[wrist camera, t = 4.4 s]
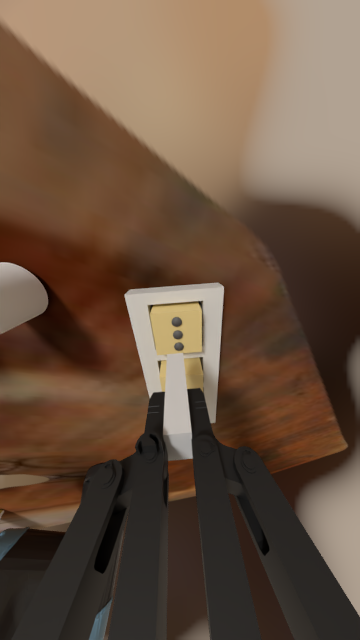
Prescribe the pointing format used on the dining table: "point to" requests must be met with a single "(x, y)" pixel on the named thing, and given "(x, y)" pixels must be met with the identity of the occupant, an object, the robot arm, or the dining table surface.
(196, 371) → the two pip key
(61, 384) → the dining table surface
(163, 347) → the three pip key
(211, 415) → the keypad base
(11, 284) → the can
